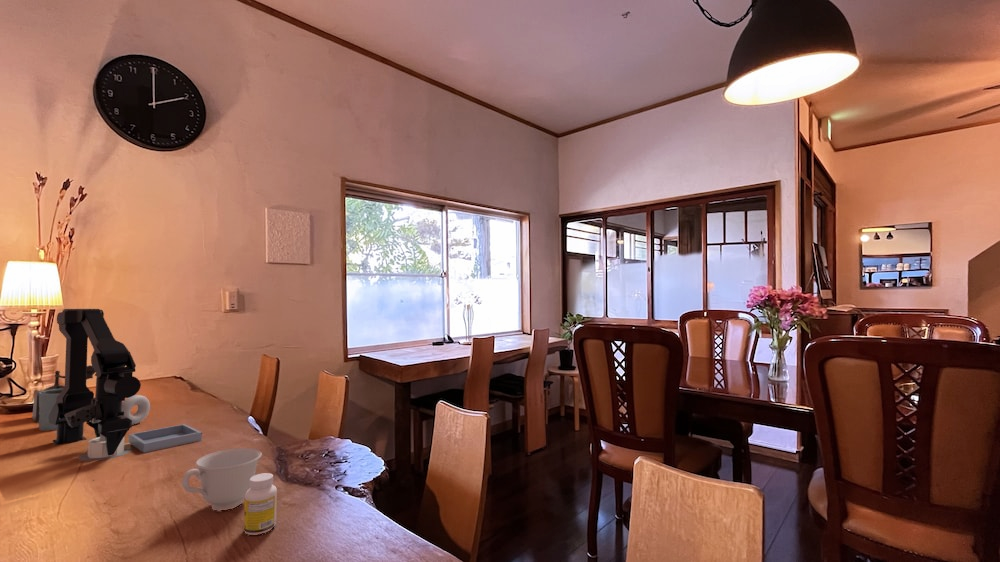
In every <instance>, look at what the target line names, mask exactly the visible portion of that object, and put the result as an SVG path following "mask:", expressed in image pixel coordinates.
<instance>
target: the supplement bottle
mask: <svg viewBox="0 0 1000 562" xmlns="http://www.w3.org/2000/svg"><path fill="white" fill-rule="evenodd" d="M273 483H274V475H273V474H272V473H270V472H264V473H258V474H255V476H252V477H251V478H250V482H249V487H250V489H249V490H248V491H247V492H246V494H245V497H244V510H243V511H244V512H243V515H244V518H243V532H244V531H245V533H248V534H255V533H261V532H264V531H267V530H268V529H271V528H272V527H273V526H275V524H276V525H277V506H278V505H277V501H278V500H277V499H278V488H277V487H276V485H274V484H273ZM275 527H276V526H275ZM245 533H244V534H245Z"/></svg>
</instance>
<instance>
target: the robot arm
mask: <svg viewBox="0 0 1000 562" xmlns="http://www.w3.org/2000/svg"><path fill="white" fill-rule="evenodd" d="M104 315H105V313H104V311H103V310H102V309H100V308H64V309H63V310H62V311H60V312H58V313H57V315H56V323H57V325H58V330H59V332H60V333H61V334H62V335H63V337H64V338H65V368H64V376H65V378H64V386H65V387H64V389H63V390H62V391H61V393H60V394H59V395H58V396H57V398H56V404H55V405H54V407H53V408H52V410H51V412H50V414H49V416H48V417H49V423H51V424H53V425H57V430H56V439H53V440H52V443H53V444H54V445H55V446H56V445H59V446H60V445H64V444H71V443H75V442H81V441H86V440H87V438H86V437H85V436H84V426H85V423H86V425H88V426H89V427H90V428H92V429H93V430H94V431H93V432H94V433H95V438H97V437H100V434H101V435H103V436H105V441H106V447H107V453H108V455H113V454H114V453H115V451H116V449H117V447H118V446H119V444H120V442H121V441H122V439H123V437H125V436H126V435H127V432H128V431H130V429H132V426H133V425H132V420H130V419H129V418H127V417H126V416H124V411H122V402H123V401H125V400H126V399H127V398H129V397H132V396H134V395H137V394H138V393H139V391H140V390H141V385H142V383H141V381H140V379H139V378H137V377H136V376H133V374H134V373H135V372H136V367H137V365H136V363H135V360H134V358H133V355H132V353H131V352H130V350H129V349H128V348H127V346H126V345H125V344H124V343H123V342H121V341H118V340H117V339H115V337H114V335H113V333H112V332H111V329H110V327H109V326H108V323H107V321H106V320H105V317H104ZM89 342H90V344H91V346H92V348H93V352H92V354H91V356H90V364H91V366H93V368H94V370H95V372H96V373H94V376H95V377H96V379H95V393H94V391H92V390H90V389H89V387H88V386H87V380H86V376H87V366H88V343H89ZM118 416H119V417H118ZM59 418H60V419H59Z"/></svg>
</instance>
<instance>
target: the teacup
mask: <svg viewBox="0 0 1000 562" xmlns="http://www.w3.org/2000/svg"><path fill="white" fill-rule="evenodd" d="M262 456H263V453H262V452H261V451H260V450H259V449H256V448H251V447H250V448H249V447H241V448H240V447H238V448H229V449H223V450H218V451H215V452H212V453H211V452H210V453H208V454H206V455H203V456H202V457H200V458H198V459H197V460H196V461H195V464H194V465H195V466H196V467H197V468H191V469H189V470H187V471H186V472H185V473H184V475H183V477H182V479H181V486H182V487H183V489H184V491H186V492H188V493H193V494H194V493H198V494H201V495H202V498H203V499H204V501H205V502H206V503H208V504H211V507H212V508H211V510H212V509H216V510H220V509H228V508H232V507H235V506H238V505H239V504H241V503H242V502H243V503H244V499H245V494H246V492H247V491H248V490H249V489H250V487H249V482H250V478H251V477H252V476H255V475H256V471H257V465H258V461H259V460H260V458H261V457H262ZM193 475H195V478H196V479H198V480H200V486H201V487H200V488H199V487H193V486H191V485H190V484H189V480H190V478H191V476H193Z"/></svg>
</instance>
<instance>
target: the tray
mask: <svg viewBox="0 0 1000 562" xmlns="http://www.w3.org/2000/svg"><path fill="white" fill-rule="evenodd" d="M202 438H203V432H202V431H200V430H198V429H197V428H194V427H192V426H190V425H188V424H185V423H182V424H177V425H176V424H175V425H172V426H166V427H160V428H155V429H149V430H145V431H138V432H134V433H129V434H128V442H129V443H131V445H132V446H133V447H134V448H136V449H137V450H138V451H140V452H142V453H143V454H144V453H150V452H154V451H158V450H163V449H167V448H172V447H173V448H174V447H176V446H182V445H187V444H190V443H196V442H202Z"/></svg>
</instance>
